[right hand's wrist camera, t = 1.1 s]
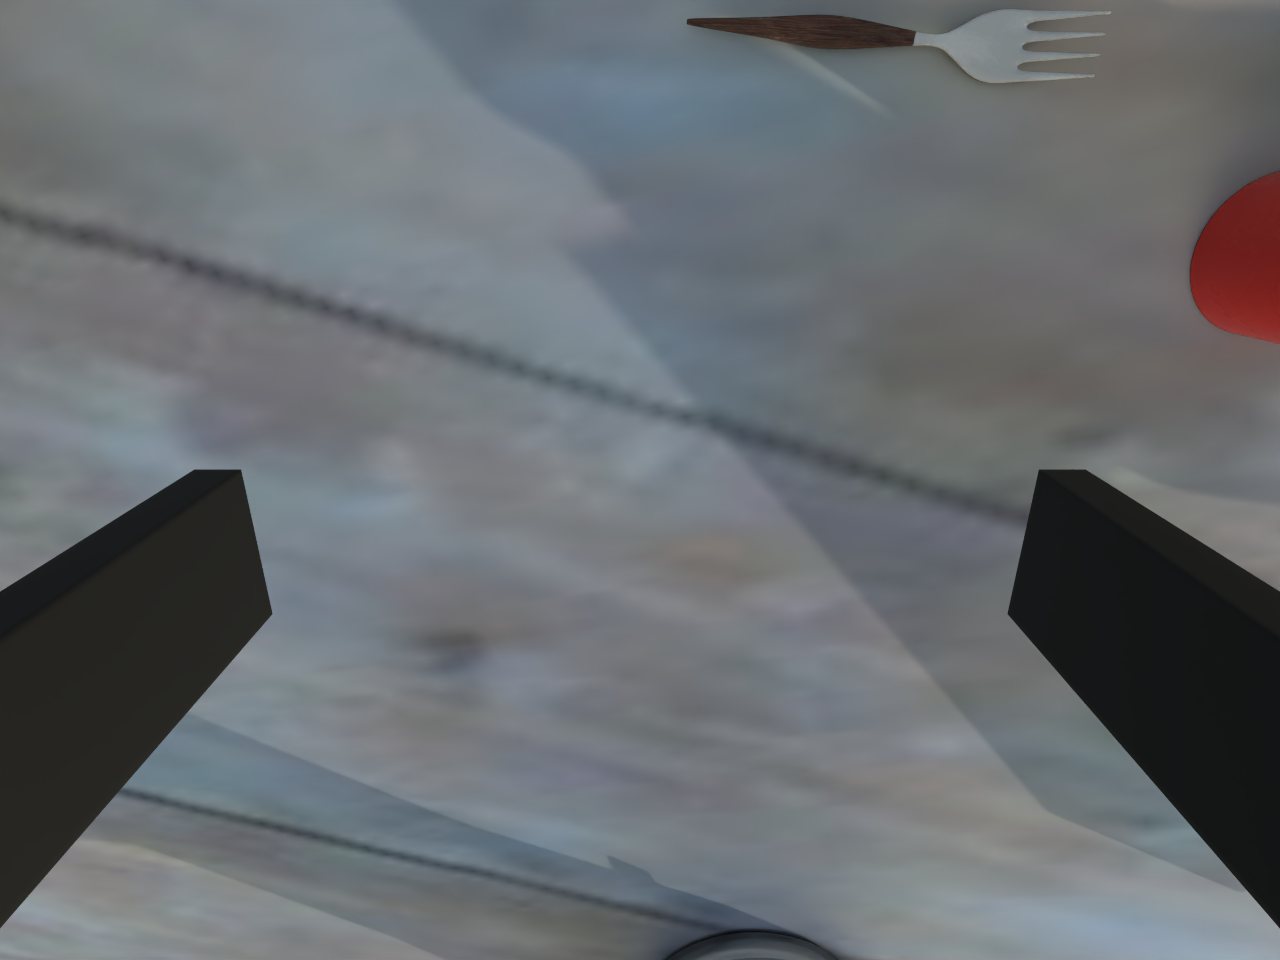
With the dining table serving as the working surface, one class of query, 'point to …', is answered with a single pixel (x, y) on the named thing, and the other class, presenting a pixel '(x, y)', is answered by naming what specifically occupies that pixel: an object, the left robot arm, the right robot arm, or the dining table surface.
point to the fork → (927, 39)
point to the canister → (1242, 263)
